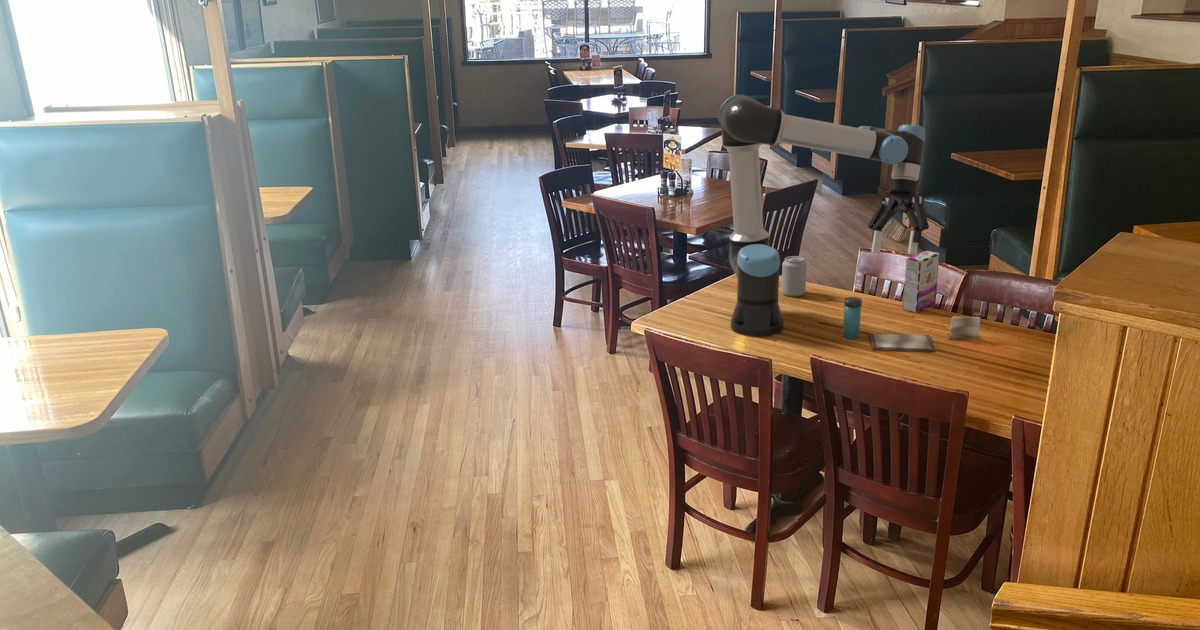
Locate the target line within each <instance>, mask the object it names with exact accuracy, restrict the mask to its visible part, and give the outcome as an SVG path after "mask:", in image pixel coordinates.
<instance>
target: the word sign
mask: <svg viewBox="0 0 1200 630" xmlns="http://www.w3.org/2000/svg"><path fill="white" fill-rule="evenodd" d="M950 321H951V323H950V329H949V331H950V333H947V339H948V341H949V340H950V339H951V341H974V342H975V341H977V342H979V341H981V335H980V334H979V333H980V332H979V331H980V324H981V317H979V316H951V320H950Z"/></svg>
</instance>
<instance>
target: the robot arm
mask: <svg viewBox="0 0 1200 630" xmlns="http://www.w3.org/2000/svg"><path fill="white" fill-rule="evenodd" d="M718 123H719V125H720V128H721V141H722V147H723V148H724V149H726V150H727V151H728V163H729V164H728V165H729V178H730V191H731V192H730V193H731V195H730V196H731V206H732V208H731V209H732V221H733V223H732V224H733V231H732V233H731V234H730V235H729V237H728V238H729V239H728V240H729V251H728V262H729V265H730V268H731V269H732V270H733V272H734V273H735V275H736V278H737V283H736V284H737V286H736V287H737V289H736V290H737V291H736V293H737V297H736V304H735V306H734V309H733V311H732V312H733V313H732V315H731V318H730V329H731V330H732V331H734V332H735V333H737V334H739V335H743V336H748V335H749V336H750V337H769V336H774V335H777V334H779V333H782V331H783V330H784V324H785V323H784V318H783V315H782V312H781V308H780V305H779V287H780V286H779V284H780V266H781V258H780V253H779V251H778V250H777V249H776V248H775V247H772V246H770V234H769V232H768V231H767V230H765V229H764V217H763V204H762V183H761V167H760V151H759V149H760V147H761V146H762V145H768V146H776V145H777V144H779V143H780V144H784V145H791V146H795V147H796V146H797V147H802V148H808V149H813V150H819V151H823V152H831V153H834V154H840V155H847V156H853V157H857V158H862V159H863V158H864V159H869V160H873V161H877V162H878V161H879V162H883V163H884V164H886V165H891V166H892V170H891V174H890V175H891V176H890V177H891V180H890V182H889V190H888V192H889V193H890V196H889V197H884V196H881V197H880V200H879V205H878V206H877V208H876V210H875V212H874V214H873V215H872V217H871V219H870V221H869V223H868V225H867V228H868V229H870V230H872V234H871V235H872V236H871V242H872V245H871V251H870V252H871V253H873V254H876V255H880V254H881V249H882V248H881V247H882V241H883V235H884V231H882V229H884V228H885V226H886V225H887V224H888V222H889V221H890V220H891V219H892V217H893V216H895V215H896V214H901V213H903V214H905V215H906V217H907V219H908V222H910V224H911V226H912V230H910V236H909V242H908V249H907V255H912V256H914V255H917V254H918V247H919V246H918V245H919V244H920V243H921V241H922V239H921V238H922V233H923V232H924V231H925V230H929V228H930V226H929V221H928V219H927V214H926V210H925V205H924V203H925V202H924V201H925V200H924V197H923V196H920V195H917V192H918V187H919V183H918V181H919V178H920V172H921V165H922V160H923V159H922V157H923V154H924V153H923V152H924V147H925V144H926V143H925V141H926V129H925V128H924V127H923V126H921V125H917V124H909V123H907V124H902V125H899V127H898V129H897V130H892V129H886V128H882V127H881V128H880V127H875V126H871V125H869V126H867V125H861V126H859V127H855V126H849V125H845V124H844V125H843V124H837V123H833V122H827V121H823V120H817V119H811V118H806V117H802V116H801V117H800V116H797V115H796V116H795V115H789V114H785V112H784V111H783V110H782V109H780V108H773V107H770V106H768V105H765V104H763V103H761V102H758V101H757V100H756V99H755V98H753V97H752V96H750V95H747V94H734V95H731V96H730V97H728V98H727V99H726V100H725V101H724V102H723V103H722V105H721V107H720V109H719V111H718ZM913 206H914V207H913Z"/></svg>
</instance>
